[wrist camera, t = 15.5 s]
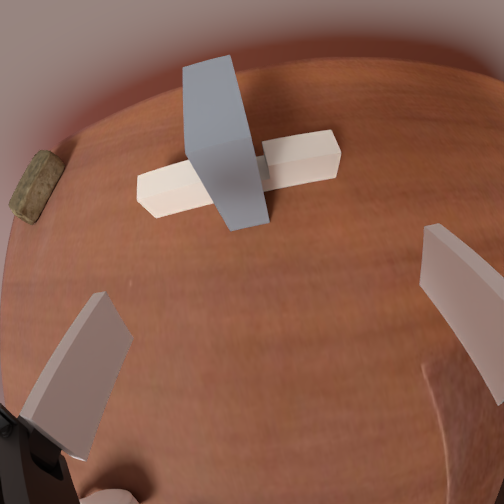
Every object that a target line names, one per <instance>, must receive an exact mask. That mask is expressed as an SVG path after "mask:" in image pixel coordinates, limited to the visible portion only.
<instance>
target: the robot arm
mask: <svg viewBox="0 0 504 504" xmlns="http://www.w3.org/2000/svg"><path fill="white" fill-rule="evenodd" d="M419 285H420V286H421V287H422V289H423V290H424V291H425V293H426V294H427V295H428V296H429V298H430V299H431V300H432V302H433V303H434V304H435V306H436V307H437V309H438V310H439V311H440V313H441V314H442V315H443V317H444V318H445V320H446V321H447V322H448V324H449V325H450V327H451V328H452V330H453V331H454V333H455V334H456V336H457V337H458V339H459V340H460V342H461V343H462V345H463V346H464V348H465V349H466V351H467V352H468V354H469V356H470V357H471V359H472V360H473V362H474V364H475V365H476V367H477V369H478V370H479V372H480V374H481V375H482V377H483V379H484V381H485V382H486V384H487V386H488V388H489V390H490V391H491V393H492V395H493V397H494V399H495V401H496V403H497V405H500V404H501V403H503V402H504V278H503V277H502V276H501V275H500V274H499V273H498V272H497V271H496V270H495V269H494V268H493V267H492V266H490V265H489V264H488V263H487V262H486V261H485V260H484V259H483V258H481V257H480V256H479V255H478V254H477V253H476V252H474V251H473V250H472V249H471V248H470V247H469V246H467V245H466V244H465V243H464V242H462V241H461V240H460V239H459V238H457V237H456V236H455V235H454V234H452V233H451V232H450V231H449V230H447V229H446V228H445V227H443V226H442V225H441V224H439V223H438V224H433V225H429V226H424V241H423V255H422V267H421V276H420V284H419ZM133 339H134V338H133V336H132V335H131V333H130V332H129V330H128V328H127V327H126V325H125V324H124V322H123V320H122V319H121V317H120V315H119V314H118V312H117V310H116V308H115V307H114V305H113V303H112V301H111V300H110V298H109V296H108V294H107V292H106V291H105V292H100V293H94V294H93V295H92V296H91V298H90V299H89V300H88V302H87V303H86V305H85V306H84V307H83V309H82V310H81V312H80V313H79V315H78V316H77V318H76V319H75V320H74V322H73V323H72V325H71V326H70V328H69V329H68V331H67V332H66V334H65V335H64V337H63V339H62V340H61V342H60V343H59V345H58V346H57V348H56V350H55V351H54V353H53V354H52V356H51V358H50V359H49V361H48V363H47V364H46V366H45V368H44V369H43V371H42V373H41V375H40V376H39V378H38V380H37V382H36V383H35V385H34V387H33V389H32V391H31V393H30V394H29V396H28V398H27V400H26V402H25V404H24V406H23V408H22V410H21V412H20V414H19V416H18V418H16V417H15V416H13V415H12V414H11V413H10V412H9V411H8V410H7V409H6V408H5V407H4V406H3V405H2V404H1V403H0V504H80V501H79V499H78V496H77V493H76V491H75V488H74V485H73V482H72V479H71V476H70V473H69V469H68V466H67V462H66V460H65V458H64V456H63V455H61V454H60V453H61V450H63V451H64V452H66V453H67V454H69V455H70V456H71V457H73V458H76V459H79V460H83V461H86V462H87V459H88V455H89V452H90V449H91V446H92V443H93V440H94V437H95V434H96V431H97V429H98V426H99V423H100V420H101V417H102V415H103V412H104V409H105V407H106V404H107V401H108V399H109V396H110V394H111V391H112V388H113V386H114V383H115V381H116V378H117V376H118V374H119V371H120V369H121V366H122V364H123V362H124V359H125V357H126V355H127V352H128V350H129V348H130V345H131V343H132V341H133ZM495 504H504V479H503V482H502V485H501V488H500V491H499V493H498V496H497V499H496V501H495Z"/></svg>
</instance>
